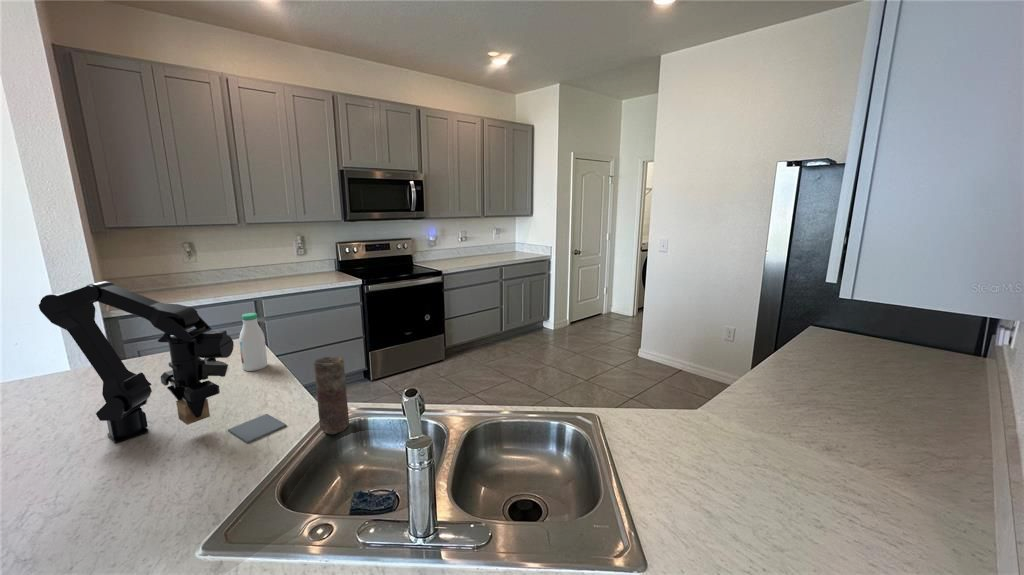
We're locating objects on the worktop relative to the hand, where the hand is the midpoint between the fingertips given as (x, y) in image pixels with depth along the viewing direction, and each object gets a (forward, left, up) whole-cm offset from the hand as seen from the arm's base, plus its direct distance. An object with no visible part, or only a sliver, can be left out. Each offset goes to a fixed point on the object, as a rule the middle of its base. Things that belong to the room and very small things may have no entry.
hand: (193, 413), depth 106 cm
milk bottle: (+30, +31, -6) cm, 44 cm away
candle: (+22, -27, -6) cm, 35 cm away
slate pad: (+10, -11, -5) cm, 16 cm away
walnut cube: (0, 0, -1) cm, 1 cm away
